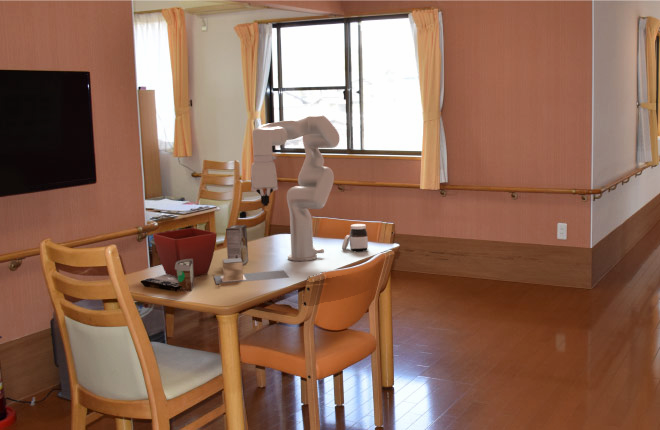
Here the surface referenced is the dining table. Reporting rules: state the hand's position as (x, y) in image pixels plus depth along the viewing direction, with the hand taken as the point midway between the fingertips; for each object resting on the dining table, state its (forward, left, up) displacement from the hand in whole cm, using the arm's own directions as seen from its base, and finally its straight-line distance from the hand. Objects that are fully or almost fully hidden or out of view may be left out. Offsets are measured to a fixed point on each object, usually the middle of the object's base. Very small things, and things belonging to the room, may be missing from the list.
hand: (265, 205), depth 294 cm
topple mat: (+8, +8, -27) cm, 30 cm away
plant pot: (+32, -8, -27) cm, 43 cm away
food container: (+34, +16, -27) cm, 46 cm away
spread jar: (-44, -29, -27) cm, 59 cm away
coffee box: (+10, -20, -27) cm, 35 cm away
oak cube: (+15, +8, -20) cm, 26 cm away
